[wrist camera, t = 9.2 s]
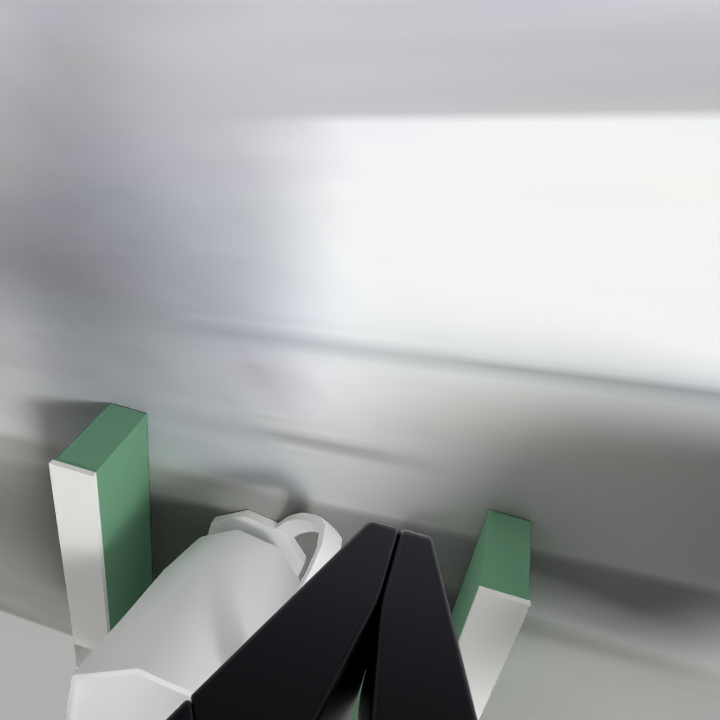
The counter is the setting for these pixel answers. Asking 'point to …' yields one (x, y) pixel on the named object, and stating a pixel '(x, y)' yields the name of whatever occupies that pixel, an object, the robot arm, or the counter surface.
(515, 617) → the pocket
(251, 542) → the cup
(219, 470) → the counter surface
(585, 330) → the counter surface
